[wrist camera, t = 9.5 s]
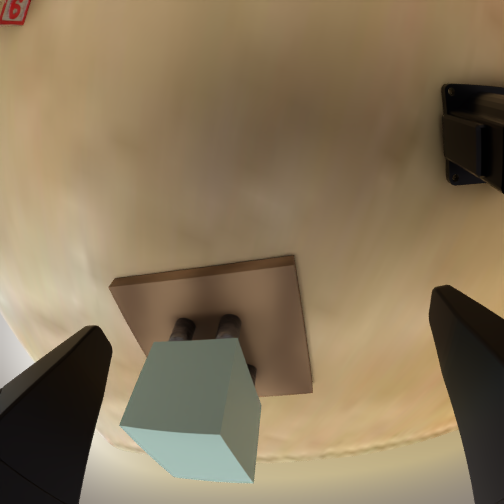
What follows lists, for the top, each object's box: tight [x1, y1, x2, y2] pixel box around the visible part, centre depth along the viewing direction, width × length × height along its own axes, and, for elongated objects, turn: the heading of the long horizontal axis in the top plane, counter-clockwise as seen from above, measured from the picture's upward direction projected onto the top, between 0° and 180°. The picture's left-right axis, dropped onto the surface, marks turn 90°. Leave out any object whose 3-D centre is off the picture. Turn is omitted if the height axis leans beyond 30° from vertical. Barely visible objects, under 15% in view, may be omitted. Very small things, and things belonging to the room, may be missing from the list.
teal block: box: [119, 338, 261, 483], centre depth 19 cm, size 6×8×7 cm
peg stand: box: [109, 255, 313, 397], centre depth 24 cm, size 14×14×4 cm
